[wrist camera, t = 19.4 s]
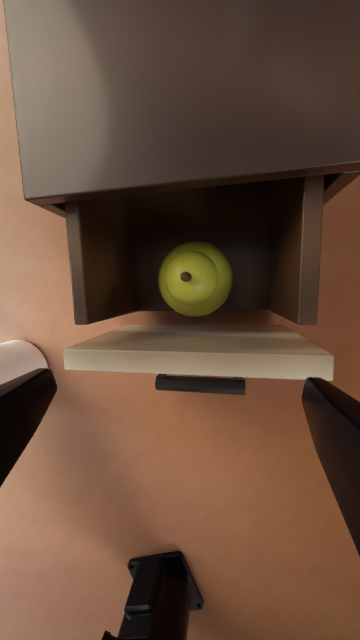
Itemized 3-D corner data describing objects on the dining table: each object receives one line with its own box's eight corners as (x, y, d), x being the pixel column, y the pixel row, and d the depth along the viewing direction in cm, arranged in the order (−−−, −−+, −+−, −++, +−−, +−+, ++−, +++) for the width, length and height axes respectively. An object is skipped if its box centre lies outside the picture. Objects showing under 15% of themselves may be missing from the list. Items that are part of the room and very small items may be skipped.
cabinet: (292, 231, 19) (378, 159, 8) (120, 243, 21) (23, 200, 11) (299, 20, 17) (423, -419, 6) (110, 62, 19) (-19, -198, 9)
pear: (241, 297, 18) (252, 303, 11) (183, 321, 19) (160, 340, 12) (216, 237, 18) (211, 204, 11) (158, 265, 19) (121, 251, 12)
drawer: (282, 385, 19) (329, 462, 11) (130, 378, 22) (70, 436, 13) (289, 160, 17) (355, 30, 9) (119, 180, 20) (38, 96, 11)
